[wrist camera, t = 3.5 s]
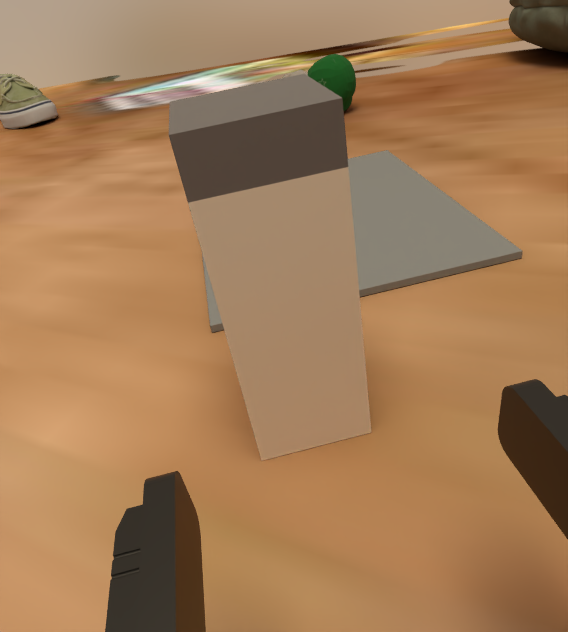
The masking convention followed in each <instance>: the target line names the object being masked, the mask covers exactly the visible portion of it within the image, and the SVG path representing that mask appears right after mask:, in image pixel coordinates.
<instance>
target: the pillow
mask: <svg viewBox="0 0 568 632" xmlns="http://www.w3.org/2000/svg"><path fill="white" fill-rule="evenodd" d="M510 4H511V5H512V6H514V7H515V8H514V9H513V10H512V12H511V14H510V17H509V25H510V28H511V30H512V32H513V33H514V34H515V35H516V36H518V37H519V38H521V39H522V40H524V41H527V42H529V43H532V44H535V45H537V46H540V47H542V48H546V49H549V50H553V51H558V52H566V53H568V0H510Z"/></svg>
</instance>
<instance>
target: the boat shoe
mask: <svg viewBox="0 0 568 632" xmlns="http://www.w3.org/2000/svg"><path fill="white" fill-rule="evenodd" d="M42 94H43V93H42V92H41V91H40V90H39V89H38V88H37V87H35V86H33V85H32V84H30V83H29V82H27V81H26V80H25V79H23V78H22V77H19V76H17V75H12V74H0V120H1V121H2V124H3V126H4V128H9V129H18V128H19V127H20V128H23V127H27V126H30V125H33V124H36V123H39V122H43V121H46V120H50V119H53V118H56V116H57V115H58V114H57V110H56V106H55V105H54V104H53V102H52V101H51V100H49V99H48V98H47V97H45V96H44V95H42Z"/></svg>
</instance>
